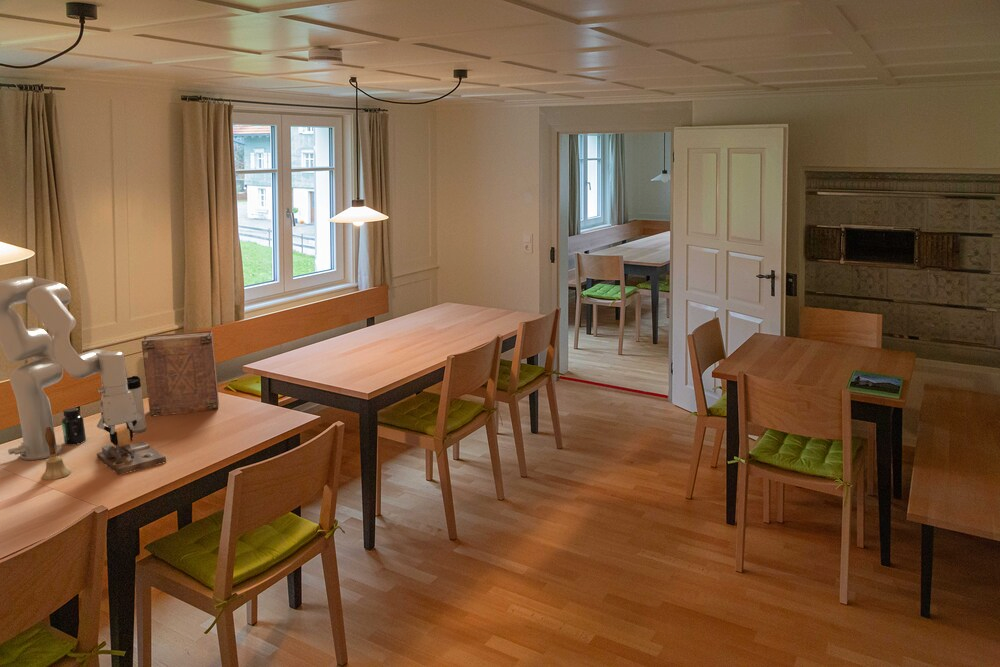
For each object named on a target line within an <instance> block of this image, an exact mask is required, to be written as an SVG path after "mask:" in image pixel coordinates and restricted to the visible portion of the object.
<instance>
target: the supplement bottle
mask: <svg viewBox="0 0 1000 667" xmlns="http://www.w3.org/2000/svg"><path fill="white" fill-rule="evenodd" d="M62 412H63V417H62V419H61V428H62V434H63V442H64V444H65V445H67V444H76V445H78V444H77V443H80V444H82V443H81V442H83V441H85V442H86V440H87V435H86V428H85V422H84V417H83V416H82V415H80V410H79V408H78V407H70V408H69V407H68V408H66V409H64V410H63V411H62ZM83 443H84V442H83Z"/></svg>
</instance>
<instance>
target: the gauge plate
mask: <svg viewBox="0 0 1000 667" xmlns="http://www.w3.org/2000/svg"><path fill="white" fill-rule="evenodd" d="M130 448H131V449H132V450H134V451H135V454H134V458H131V455H130V454H129V453H127V452H126V453H122V454H121V453H120V452H118V451H117V448H116V446H115V445H112V444H108V445H105V446H104V445H103V446H101V451H100V452H96V456H97V458H98V459H97V460H98V461H100V462H101V461H102V462H103V465H105V464H106V465H107V466H106V465H105V466H106V467H108V468H109V467H110V468H111V469H110V468H109V469H110V470H112V471H113V470H114V471H115V473H116V474H117V475H118V476H121V475H123V474H124V473H125V474H128V473H131V472H130V471H132V472H135V471H134V470H136V471H138V469H139V470H143V469H146V468H145V467H147V468H150V467H153V465H154V466H157V465H156V464H158V465H160V464H159V463H161V464H164V463H163V462H165V463H166V462H167V457H166V455H164V454H163V453H162V452H161V453H160V452H159V451H158V450H156V449H155V448H154V447H151V445H150V444H147V443H145V442H143V441H139V442H137V443H136V442H135V443H131V444H130ZM102 462H101V463H102ZM149 466H150V467H149ZM142 468H143V469H142ZM114 471H113V472H114ZM127 472H128V473H127Z"/></svg>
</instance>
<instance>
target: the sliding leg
mask: <svg viewBox="0 0 1000 667" xmlns="http://www.w3.org/2000/svg"><path fill="white" fill-rule="evenodd" d="M115 433H116V435H117V443H118V444H117V445H115V448H117V451H118V452H120V453H121V454H122V453H126V452H127V453H129V454H130V455H131V458H134V454H135V451H134V450H132V449H131V448H130V445H131V444H132V441H131V439H130V431H129V429H128V428H127V426H121V427H118V428H115Z"/></svg>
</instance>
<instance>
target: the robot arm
mask: <svg viewBox="0 0 1000 667" xmlns="http://www.w3.org/2000/svg"><path fill="white" fill-rule="evenodd" d="M71 299H72V294H71V292H70V290H69V288H68V287H67V286H66V285H64V284H63V283H61V282H59V281H54V280H51V279H47V278H41V277H37V276H33V275H25V276H18V277H13V278H8V279H3V280H0V346H1V349H2V351H3V354H4V356H6V359H7V360H9V361H10V362H17V363H18V362H23V361H26V360H29V359H31V358H32V359H33V361H30V362H27V363H24V364H21V365H19V366H17V367H16V368H14V370H13V371H12V372H11V373H10V377H9V383H10V387H11V389H12V391H13V394H14V397H15V400H16V406H17V411H18V416H19V423H20V429H21V435H22V442H20V445H18V446H17V447H12V448H11V447H10V448H8V449H7V452H8V455H16V456H17V455H19V457H20V459H22V460H26V461H35V460H43V459H49V458H50V450H49V445H48V444H47V441H46V438H45V433H46V428H47V427H51V429H52V430H53V432H54V435H55V436H56V433H55V428H54V420H53V413H52V407H51V406H52V405H51V402H50V398H49V397H48V395H47V394H46V393H45V391H44V388H47V387H49V386H52V385H54V384H56V383H58V382H59V381H61V380H62V379H63V376H64V371H65V372H66V373H67V374H68V375H69V376H71V377H72V378H75V379H80V380H81V379H84V378H87V377H90V376H92V375H95V374H98V373H100V377H101V388H99V389H97V391H98V394H101V398H100V419H99V421H98V423H97V424H96V427H97V428H98V429H101V430H104V431H105V432H107V433H109V438H110V439H109V441H110V443H111V444H113V446H116V445H117V444H118V443H117V435H116V433H115V429H116V426H118V425H122V424H125V425H126V428H128V429H129V431H130V439H131V442H133V438H134V434H133V430H132V429H133V428H134V426H135V425H136V423H137V422H138V421H139V420H140V419H141V418H142V416H141V415H140V414H139V413H138V412H137V410H136V405H135V401H134V398H133V394H132V392H131V391H130V390H128V382H127V378H128V376H127V368H126V367H127V366H126V360H125V355H124V353H123V352H122V351H117V350H116V351H115V350H114V351H113V350H112V351H108V350H104V349H96V348H95V349H91V350H88V351H85V352H83V353H78V352H77V351H76V350H75V349H74V347H73V346H72V344H71V341H70V334H71V332H72V330H73V329H74V328H75V327H76V325H77V320H76V319H75V317H74V316H73V314H71V312H70V311H69V310H68V308H67V307H66V306H68V305H69V304H70V302H71ZM23 303H26V305H27V306H28V307H29V309H30V311H32V313H33V314H34V316H36V318H37V319H38V320H39V322H40V323H41V324H42V325H43V326H44V328H45V329H46V330H47V331H48V332H49V333H48V332H47V331H46V330H45V329H43V328H40V327H31V328H27V327H26V325H25V323H24V320H23V318H22V317H21V315H20V314H19V313H18V312H17V310H15V309H14V308H12V307H13V306H16V305H19V304H23ZM104 424H105V425H104ZM56 440H57V439H56V438H55V445H54V446H55V452H56V454H57V455H59V454H60V453H61V452H63V447H62V445H60V444H58V443H57V441H56Z"/></svg>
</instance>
